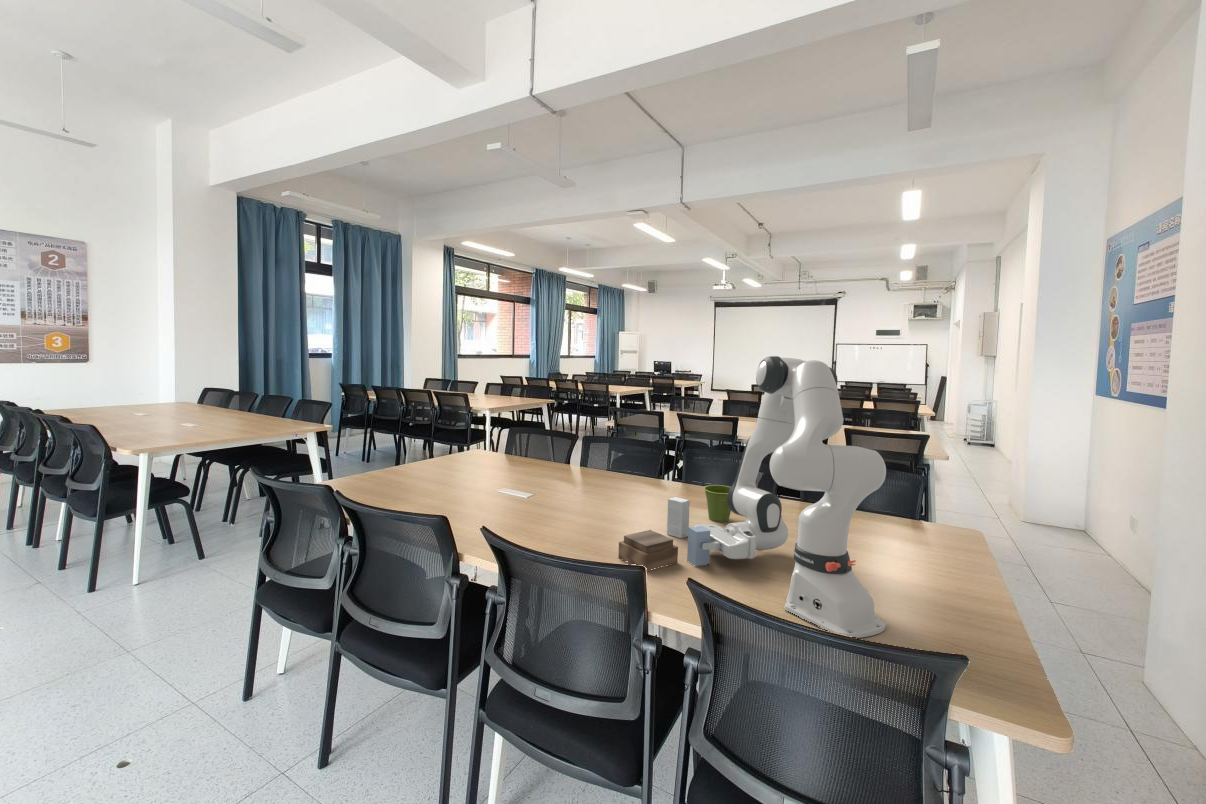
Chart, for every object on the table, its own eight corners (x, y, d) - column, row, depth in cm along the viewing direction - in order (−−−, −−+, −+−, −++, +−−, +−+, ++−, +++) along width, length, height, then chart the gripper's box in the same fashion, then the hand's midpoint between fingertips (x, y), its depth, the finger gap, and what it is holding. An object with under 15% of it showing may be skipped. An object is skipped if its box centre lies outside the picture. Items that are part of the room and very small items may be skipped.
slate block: (708, 564, 155) (710, 530, 154) (695, 566, 153) (696, 532, 152) (700, 559, 159) (702, 525, 158) (687, 560, 157) (688, 527, 156)
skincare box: (688, 535, 179) (690, 500, 178) (681, 538, 176) (682, 502, 175) (673, 531, 183) (675, 496, 182) (666, 534, 180) (667, 498, 179)
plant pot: (695, 518, 198) (697, 488, 197) (715, 512, 206) (716, 483, 205) (722, 526, 190) (724, 494, 189) (742, 520, 198) (743, 489, 197)
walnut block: (677, 563, 156) (678, 540, 155) (645, 572, 149) (646, 548, 148) (649, 550, 165) (650, 528, 165) (618, 558, 158) (619, 535, 158)
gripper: (718, 517, 169) (678, 521, 164) (759, 538, 150) (716, 543, 145) (717, 536, 170) (677, 541, 165) (757, 560, 151) (715, 566, 146)
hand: (696, 542), depth 155 cm, fingers closed on slate block, 4 cm apart
